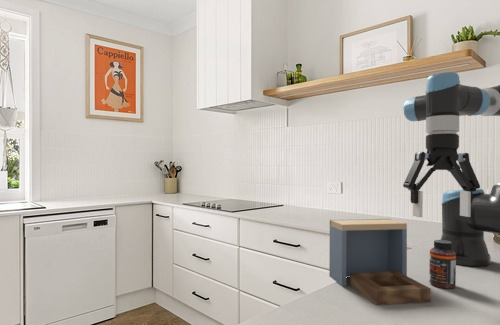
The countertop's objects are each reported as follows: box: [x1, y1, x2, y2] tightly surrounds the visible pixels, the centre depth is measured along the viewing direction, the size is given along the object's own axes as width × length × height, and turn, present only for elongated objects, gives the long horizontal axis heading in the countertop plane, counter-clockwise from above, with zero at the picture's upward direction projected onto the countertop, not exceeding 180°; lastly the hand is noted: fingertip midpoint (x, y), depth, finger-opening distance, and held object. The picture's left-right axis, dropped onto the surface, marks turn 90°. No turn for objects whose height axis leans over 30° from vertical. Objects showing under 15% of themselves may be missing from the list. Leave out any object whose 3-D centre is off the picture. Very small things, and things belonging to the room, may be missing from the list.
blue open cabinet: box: [328, 218, 408, 287], centre depth 93 cm, size 18×8×16 cm, turn 99°
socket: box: [349, 271, 431, 306], centre depth 83 cm, size 13×13×3 cm
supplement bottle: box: [428, 239, 457, 289], centre depth 89 cm, size 6×6×11 cm
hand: (441, 216), depth 89 cm, fingers open, 13 cm apart
